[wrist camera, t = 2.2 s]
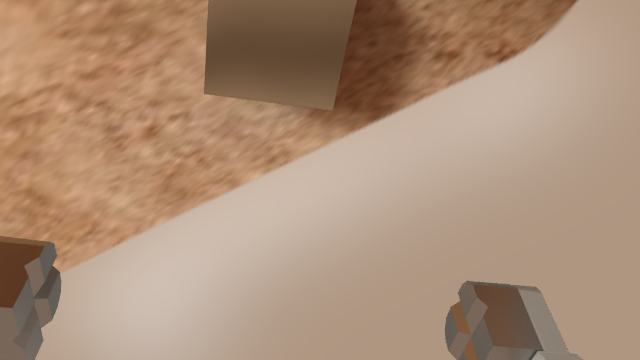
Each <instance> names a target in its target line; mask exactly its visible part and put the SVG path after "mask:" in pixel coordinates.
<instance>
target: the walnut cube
mask: <svg viewBox="0 0 640 360" xmlns="http://www.w3.org/2000/svg"><path fill="white" fill-rule="evenodd" d="M356 2H357V0H209V1H208V22H207V43H206V65H205V86H204V94H209V95H216V96H224V97H232V98H239V99H247V100H254V101H262V102H270V103H277V104H285V105H292V106H300V107H308V108H315V109H323V110H330V111H333V108H334V103H335V98H336V94H337V89H338V85H339V80H340V75H341V71H342V66H343V62H344V57H345V53H346V48H347V43H348V39H349V34H350V30H351V25H352V21H353V16H354V11H355V7H356Z"/></svg>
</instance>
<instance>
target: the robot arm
mask: <svg viewBox="0 0 640 360" xmlns="http://www.w3.org/2000/svg"><path fill="white" fill-rule="evenodd" d="M56 257H57V254H56V250H55V245H54V243H51V242H46V241H38V240H29V239H21V238H12V237H4V236H0V360H35V358H36V355H37V353H38V351H39V349H40V346H41V344H42V342H43V336H42V332H41V328H42V327H43V326H45V325H46V324H47V323H49V322H50V321H51V320H52V319H53V316H54V314H55V312H56V309H57V307H58V302H59V298H60V293H61V278H60V272H59V271H58V270H57V269H56V268H55V267H53V266H52V265H53V263H54V261H55V259H56ZM458 294H459V297H460V301H459V302H458V303H456V304H455V305H453V306H452V307H451V308H450V310H449V313H448V315H447V317H446V325H445V337H446V343H447V347H448V351H449V352H450V353H451V354H452V355H453V356H454V357H455V358H456V359H457V360H583V359H581V358H580V357H579V356H578V355H577V354H571V353H569V351H568V349H567V347H566V345H565V342H564V340H563V338H562V336H561V334H560V332H559V330H558V328H557V325H556V323H555V321H554V319H553V317H552V315H551V313H550V310H549V309H548V306H547V304H546V302H545V300H544V298H543V295H542V293H541V291H540V290H539V289H538V288H536V287H530V286H518V285H509V284H497V283H484V282H472V281H466V282H465V283H464V284H462V286H461V288H460V290H459V292H458Z"/></svg>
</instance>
